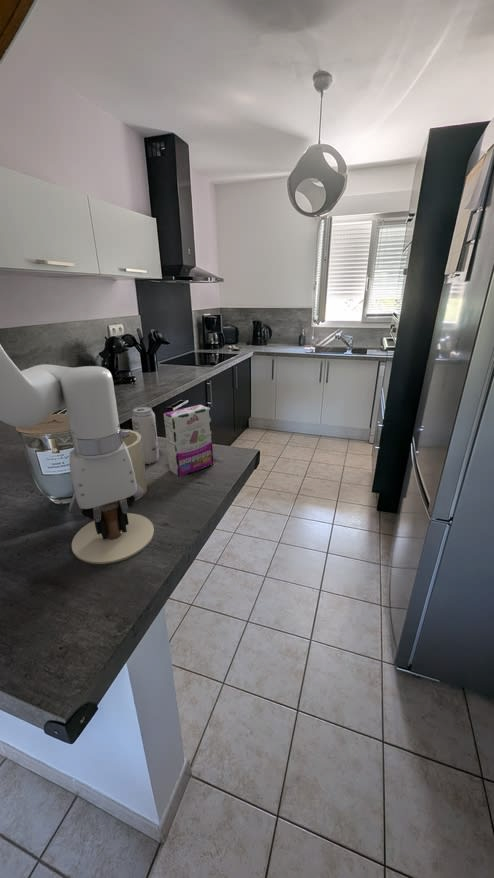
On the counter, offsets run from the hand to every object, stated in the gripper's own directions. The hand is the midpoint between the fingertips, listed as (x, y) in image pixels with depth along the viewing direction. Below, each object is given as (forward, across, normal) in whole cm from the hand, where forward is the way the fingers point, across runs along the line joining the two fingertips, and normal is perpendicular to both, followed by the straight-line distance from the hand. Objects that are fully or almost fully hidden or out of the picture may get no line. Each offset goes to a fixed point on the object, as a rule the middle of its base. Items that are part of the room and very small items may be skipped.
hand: (113, 531), depth 67 cm
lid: (+1, 0, 0) cm, 1 cm away
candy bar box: (+2, -25, -19) cm, 31 cm away
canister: (+2, -5, -17) cm, 18 cm away
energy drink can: (+2, -17, -30) cm, 35 cm away
